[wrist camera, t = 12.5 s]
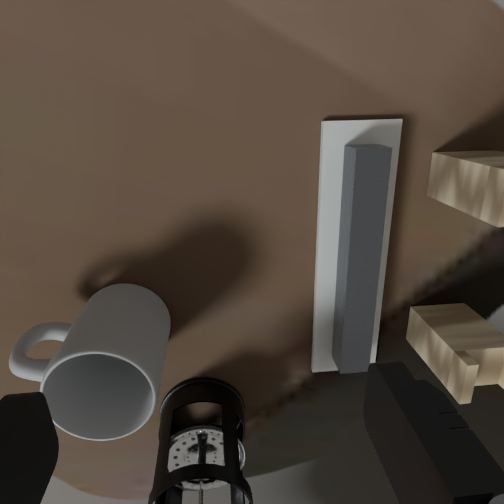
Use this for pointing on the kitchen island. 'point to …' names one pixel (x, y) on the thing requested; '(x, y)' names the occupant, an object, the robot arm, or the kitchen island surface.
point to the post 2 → (457, 347)
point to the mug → (101, 363)
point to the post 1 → (470, 183)
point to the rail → (359, 253)
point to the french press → (201, 445)
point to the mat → (329, 222)
